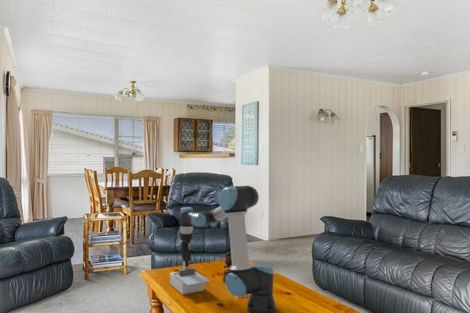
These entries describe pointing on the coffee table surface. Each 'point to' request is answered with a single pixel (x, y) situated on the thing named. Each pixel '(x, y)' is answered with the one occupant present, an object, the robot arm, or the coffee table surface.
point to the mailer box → (183, 287)
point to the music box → (227, 265)
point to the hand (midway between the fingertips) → (185, 271)
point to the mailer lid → (191, 277)
